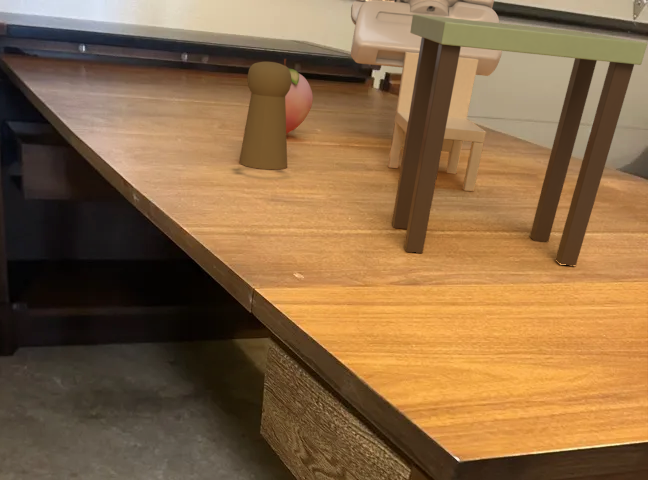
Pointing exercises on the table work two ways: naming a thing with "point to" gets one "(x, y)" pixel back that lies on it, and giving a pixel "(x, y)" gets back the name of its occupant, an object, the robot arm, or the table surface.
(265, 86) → the cork
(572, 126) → the side table
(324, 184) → the table surface
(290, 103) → the decorative fruit
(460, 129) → the chair
